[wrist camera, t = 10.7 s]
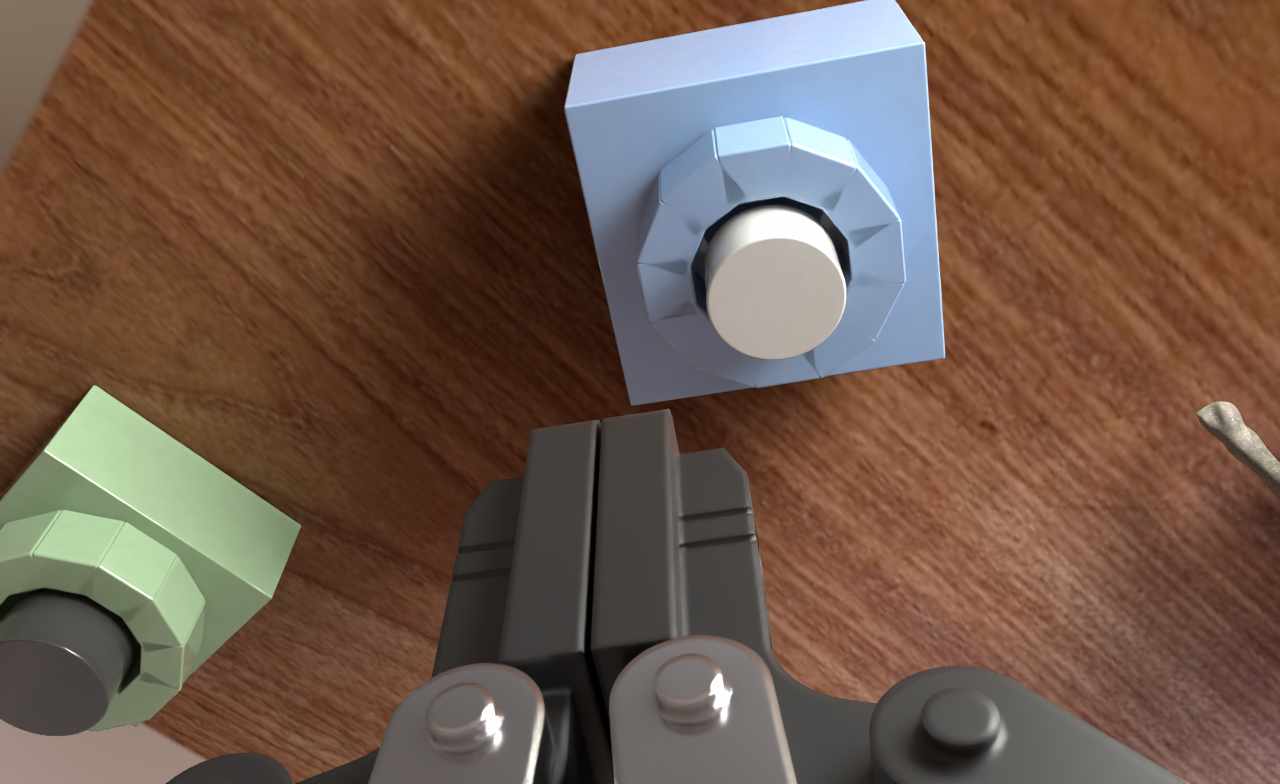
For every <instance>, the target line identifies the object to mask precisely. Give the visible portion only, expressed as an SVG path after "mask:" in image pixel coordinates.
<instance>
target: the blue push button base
mask: <svg viewBox="0 0 1280 784" xmlns="http://www.w3.org/2000/svg"><path fill="white" fill-rule="evenodd" d="M564 112H565V116H566V120H567V125H568V129H569V134H570V138H571V143H572V147H573V151H574V156H575V160H576V165H577V169H578V174H579V178H580V183H581V187H582V191H583V196H584V200H585V205H586V209H587V214H588V218H589V223H590V227H591V231H592V236H593V240H594V245H595V249H596V254H597V258H598V262H599V267H600V271H601V276H602V280H603V285H604V289H605V294H606V298H607V302H608V307H609V311H610V316H611V320H612V325H613V329H614V333H615V338H616V342H617V347H618V351H619V356H620V360H621V365H622V369H623V373H624V378H625V382H626V387H627V391H628V396H629V400H630V404H631V406H635V405H641V404H648V403H654V402H661V401H667V400H674V399H680V398H687V397H694V396H700V395H707V394H713V393H720V392H726V391H733V390H739V389H746V388H753V387H755V388H762V387H768V386H775V385H781V384H788V383H795V382H801V381H808V380H814V379H818V378H823V377H825V376H831V375H838V374H844V373H851V372H857V371H864V370H870V369H877V368H884V367H890V366H897V365H903V364H910V363H916V362H923V361H929V360H936V359H943V358H945V344H944V328H943V313H942V298H941V282H940V267H939V252H938V236H937V221H936V205H935V190H934V175H933V159H932V144H931V129H930V113H929V98H928V82H927V67H926V52H925V43H924V41H923V40H922V38H921V37H920V35H919V34H918V33H917V31H916V30H915V28H914V27H913V25H912V24H911V22H910V21H909V19H908V18H907V17H906V15H905V14H904V12H903V11H902V9H901V8H900V6H899V5H898V3H897V2H896V1H895V0H867V1H862V2H856V3H851V4H845V5H840V6H835V7H829V8H824V9H818V10H813V11H808V12H802V13H797V14H791V15H786V16H781V17H775V18H770V19H764V20H759V21H754V22H748V23H743V24H737V25H732V26H726V27H721V28H716V29H710V30H705V31H699V32H694V33H689V34H683V35H678V36H672V37H667V38H662V39H656V40H651V41H645V42H640V43H634V44H629V45H624V46H618V47H613V48H607V49H602V50H597V51H591V52H586V53H580V54H576V55H575V57H574V62H573V67H572V72H571V76H570V81H569V86H568V91H567V96H566V101H565V106H564ZM761 205H785V206H790V207H794V208H797V209H800V210H802V211H804V212H806V213H808V214H810V215H811V216H813V217H814V218H815V219H817V220H818V221H819V222H820V223H821V224H822V225H823V226H824V227H825V229H826V230H827V231H828V233H829V235H830V236H831V238H832V240H833V243H834V246H835V249H836V252H837V256H838V259H839V262H840V266H841V269H842V272H843V276H844V279H845V284H846V295H847V296H846V305H845V309H844V312H843V315H842V317H841V320H840V321H839V323H838V325H837V327H836V328H835V329H834V331H833V332H832V333H831V335H830V336H829V337H828V338H827V339H826V340H825V341H824V342H822V343H821V344H820V345H818V346H817V347H815V348H814V349H812V350H811V351H809V352H806V353H804V354H802V355H799V356H796V357H793V358H788V359H782V360H764V359H757V358H753V357H750V356H747V355H745V354H742V353H740V352H738V351H736V350H735V349H733V348H732V347H730V346H729V345H728V344H727V343H725V342H724V341H723V340H722V339H721V338H720V336H719V335H718V334H717V333H716V331H715V329H714V328H713V326H712V324H711V322H710V319H709V316H708V312H707V305H706V293H705V279H704V259H705V254H706V251H707V248H708V245H709V243H710V241H711V239H712V238H713V236H714V235H715V233H716V232H717V231H718V230H719V228H720V227H721V226H722V225H723V224H724V223H725V222H727V221H728V220H729V219H730V218H732V217H733V216H735V215H736V214H738V213H740V212H742V211H744V210H747V209H750V208H753V207H757V206H761Z"/></svg>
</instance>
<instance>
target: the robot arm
mask: <svg viewBox="0 0 1280 784" xmlns="http://www.w3.org/2000/svg"><path fill="white" fill-rule="evenodd" d="M458 550H459V554H457V555H456V560H455V565H454V570H453V575H452V576H453V582H451V585H450V590H449V595H448V599H447V604H446V609H445V614H444V619H443V624H442V629H441V634H440V639H439V644H438V649H437V653H436V658H435V663H434V668H433V673H432V678H431V679H429V680H427V681H426V682H424V683H423V684H421V685H420V686H418V687H417V688H416V689H415V690H413V691H412V692H411V693H410V694H409V695H408V696H407V697H406V698H405V699H404V700H403V701H402V702H401V703H400V705H399V706H398V707H397V709H396V710H395V712H394V713H393V715H392V716H391V718H390V721H389V723H388V725H387V728H386V731H385V734H384V737H383V740H382V743H381V746H380V747H379V748H378V749H376V750H374V751H372V752H371V753H369V754H367V755H365V756H363V757H361V758H359V759H357V760H354V761H352V762H350V763H347V764H345V765H342V766H339V767H337V768H334V769H332V770H329V771H327V772H324V773H321V774H319V775H316V776H314V777H311V778H309V779H306V780H304V781H301V782H298V783H296V784H1189V783H1188V782H1186V781H1184V780H1183V779H1181V778H1179V777H1177V776H1176V775H1174V774H1172V773H1171V772H1169V771H1167V770H1166V769H1164V768H1162V767H1161V766H1159V765H1157V764H1155V763H1154V762H1152V761H1150V760H1149V759H1147V758H1145V757H1144V756H1142V755H1140V754H1139V753H1137V752H1135V751H1134V750H1132V749H1130V748H1128V747H1127V746H1125V745H1123V744H1122V743H1120V742H1118V741H1117V740H1115V739H1113V738H1112V737H1110V736H1108V735H1106V734H1105V733H1103V732H1101V731H1100V730H1098V729H1096V728H1095V727H1093V726H1091V725H1090V724H1088V723H1086V722H1084V721H1083V720H1081V719H1079V718H1078V717H1076V716H1074V715H1073V714H1071V713H1069V712H1068V711H1066V710H1064V709H1062V708H1061V707H1059V706H1057V705H1056V704H1054V703H1052V702H1051V701H1049V700H1047V699H1046V698H1044V697H1042V696H1041V695H1039V694H1037V693H1035V692H1034V691H1032V690H1030V689H1029V688H1027V687H1025V686H1024V685H1022V684H1020V683H1019V682H1017V681H1015V680H1013V679H1011V678H1009V677H1007V676H1005V675H1002V674H999V673H996V672H993V671H990V670H985V669H981V668H976V667H965V666H949V667H939V668H933V669H928V670H925V671H922V672H919V673H916V674H913V675H911V676H909V677H907V678H905V679H903V680H901V681H900V682H898V683H897V684H895V685H894V686H892V687H891V688H890V689H889V690H888V691H887V692H886V693H885V694H884V695H883V696H882V698H881V699H880V700H879V702H878V703H877V704H875V703H867V702H860V701H853V700H846V699H841V698H836V697H831V696H828V695H825V694H822V693H819V692H816V691H814V690H812V689H810V688H808V687H806V686H804V685H802V684H801V683H799V682H798V681H797V680H795V679H794V678H792V677H791V676H790V675H789V674H788V673H787V672H786V671H785V670H784V669H783V668H782V667H781V665H780V664H779V663H778V661H777V660H776V658H775V656H774V651H773V643H772V635H771V628H770V621H769V613H768V605H767V598H766V590H765V583H764V577H763V570H762V564H761V558H760V551H759V545H758V539H757V532H756V526H755V520H754V513H753V507H752V501H751V494H750V488H749V482H748V475H747V473H746V472H745V471H744V469H743V468H742V467H741V466H740V465H739V464H738V463H737V462H736V461H735V460H734V458H733V457H732V456H731V455H730V454H729V453H728V452H727V451H726V450H725V448H719V449H712V450H705V451H698V452H691V453H684V454H679V449H678V444H677V439H676V433H675V428H674V423H673V419H672V415H671V412H670V409H665V410H659V411H652V412H645V413H638V414H632V415H625V416H618V417H611V418H605V419H603V421H602V425H601V423H600V421H599V420H593V421H586V422H579V423H573V424H566V425H559V426H552V427H546V428H539V429H533V430H532V431H531V433H530V439H529V446H528V453H527V460H526V467H525V474H524V477H520V478H513V479H506V480H499V481H492V482H489V484H488V485H487V486H486V487H485V489H484V490H483V491H482V493H481V494H480V495H479V497H478V498H477V499H476V500H475V502H474V503H473V504H472V506H471V507H470V508H469V509H468V511H467V512H466V513H465V516H464V521H463V526H462V531H461V536H460V541H459V546H458ZM166 784H293V782H292V780H291V778H290V776H289V774H288V773H287V771H286V770H285V768H284V767H283V766H282V765H281V764H279V763H278V762H277V761H275V760H273V759H271V758H269V757H267V756H263V755H259V754H253V753H237V754H229V755H224V756H219V757H216V758H213V759H210V760H207V761H204V762H201V763H199V764H197V765H195V766H193V767H191V768H189V769H187V770H186V771H184V772H182V773H180V774H179V775H177V776H175V777H174V778H173V779H171V780H170V781H169V782H167V783H166Z"/></svg>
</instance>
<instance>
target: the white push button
mask: <svg viewBox="0 0 1280 784" xmlns="http://www.w3.org/2000/svg"><path fill="white" fill-rule="evenodd" d="M704 279H705V293H706V305H707V312H708V316H709V319H710V322H711V324H712V326H713V328H714V329H715V331H716V333H717V334H718V335H719V336H720V338H721V339H722V340H723V341H724V342H725V343H727V344H728V345H729V346H730V347H732V348H733V349H735V350H736V351H738V352H740V353H742V354H745V355H747V356H750V357H753V358H757V359H764V360H782V359H788V358H793V357H796V356H799V355H802V354H804V353H806V352H809V351H811V350H812V349H814V348H815V347H817V346H818V345H820V344H821V343H822V342H824V341H825V340H826V339H827V338H828V337H829V336H830V335H831V333H832V332H833V331H834V329H835V328H836V327H837V325H838V323H839V321H840V320H841V317H842V315H843V312H844V309H845V305H846V296H847V295H846V284H845V279H844V276H843V272H842V269H841V266H840V262H839V259H838V256H837V252H836V249H835V246H834V243H833V240H832V238H831V236H830V235H829V233H828V231H827V230H826V229H825V227H824V226H823V225H822V224H821V223H820V222H819V221H818V220H817V219H815V218H814V217H813V216H811V215H810V214H808V213H806V212H804V211H802V210H800V209H797V208H794V207H790V206H785V205H761V206H757V207H753V208H750V209H747V210H744V211H742V212H740V213H738V214H736V215H735V216H733V217H732V218H730V219H729V220H728V221H727V222H725V223H724V224H723V225H722V226H721V227H720V228H719V230H718V231H717V232H716V233H715V235H714V236H713V238H712V239H711V241H710V243H709V245H708V248H707V251H706V254H705V259H704Z"/></svg>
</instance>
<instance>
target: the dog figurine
mask: <svg viewBox="0 0 1280 784" xmlns="http://www.w3.org/2000/svg"><path fill="white" fill-rule="evenodd" d="M1197 416H1198V418H1199V421H1200V423H1201V424H1202V425H1203V426H1204V427H1205V428H1206V429H1207V430H1208V431H1209V432H1210V433H1211V434H1212V435H1214V436H1215V437H1216V438H1218V439H1219V440H1220V441H1221V442H1222V443H1223V444H1224V445H1225V446H1226V448H1227V449H1228V450H1229V452H1230V453H1231V454H1232V455H1233V456H1234V457H1236V458H1237V459H1238V460H1239V461H1241V462H1242V463H1244V464H1245V465H1247V466H1248V467H1249V468H1250V469H1252V470H1253V471H1254V472H1255V473H1256V474H1257V475H1258V476H1259V477H1260V478H1261V479H1262V480H1263V482H1264V483H1265V484H1266V485H1267V486H1268V487H1269V488H1270V489H1271V491H1272V492H1273V493H1274V494H1275V495H1276V496H1277V497H1278V498H1279V499H1280V463H1279V462H1278V461H1277V459H1276V458H1275V457H1274V456H1273V455H1272V454H1271V453H1270V452H1269V450H1268V449H1267V448H1266V447H1265V445H1264V444H1263V442H1262V441H1261V439H1260V438H1259V437H1258V435H1257V434H1256V433H1255V432H1254V431H1252V430H1251V429H1249V428H1247V427H1246V426H1245V424H1244V423H1243V421H1242V418H1241V415H1240V413H1239V411H1238V409H1237V408H1236V407H1235V406H1234V405H1233V404H1231V403H1228V402H1215V403H1212V404H1210V405H1208V406H1206V407H1204V408H1203V409H1201V410H1200V411H1199V412H1198V413H1197Z"/></svg>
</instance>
